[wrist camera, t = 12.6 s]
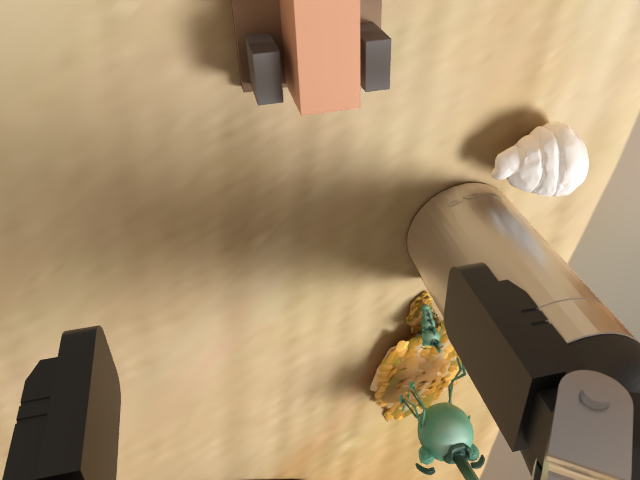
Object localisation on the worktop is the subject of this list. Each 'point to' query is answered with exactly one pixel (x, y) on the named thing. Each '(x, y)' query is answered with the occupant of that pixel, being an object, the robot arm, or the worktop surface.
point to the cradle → (268, 57)
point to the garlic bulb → (545, 161)
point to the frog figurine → (428, 391)
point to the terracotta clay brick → (322, 53)
